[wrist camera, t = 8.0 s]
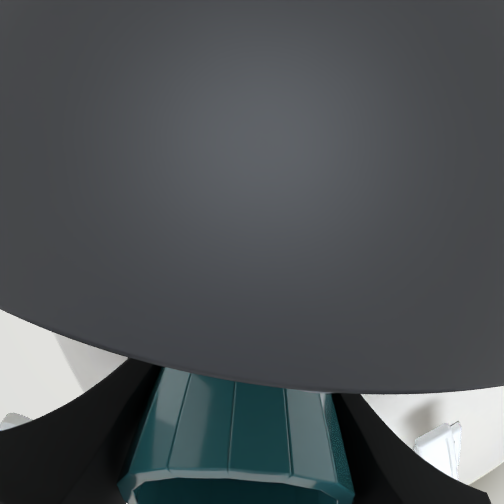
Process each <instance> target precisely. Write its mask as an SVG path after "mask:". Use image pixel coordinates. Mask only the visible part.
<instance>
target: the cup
mask: <svg viewBox="0 0 504 504" xmlns="http://www.w3.org/2000/svg"><path fill="white" fill-rule="evenodd" d="M117 487H118V490H119V492H120V495H121V497H122V499H123V500H124V501H125V502H126V503H128V504H353V500H354V496H355V494H354V489H353V484H352V480H351V475H350V471H349V466H348V462H347V457H346V453H345V449H344V445H343V440H342V436H341V432H340V428H339V424H338V420H337V416H336V412H335V408H334V404H333V400H332V396H331V393H310V392H305V391H300V390H296V389H286V388H278V387H270V386H262V385H255V384H249V383H242V382H236V381H230V380H224V379H219V378H213V377H208V376H203V375H198V374H194V373H189V372H184V371H180V370H176V369H171V368H167V367H163V366H160V368H159V370H158V373H157V375H156V377H155V380H154V382H153V385H152V387H151V390H150V393H149V395H148V398H147V400H146V403H145V406H144V408H143V411H142V413H141V416H140V419H139V421H138V424H137V427H136V430H135V432H134V435H133V438H132V440H131V443H130V446H129V449H128V452H127V454H126V457H125V460H124V463H123V466H122V469H121V472H120V474H119V477H118V480H117Z"/></svg>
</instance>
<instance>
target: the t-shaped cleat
mask: <svg viewBox="0 0 504 504" xmlns="http://www.w3.org/2000/svg"><path fill="white" fill-rule="evenodd" d="M461 432H462V427H461V424H460V423H459V422H457V423H455V424H454V425H452V426H450V425H449V424H448V423H444V424H442V425H440V426H439V427H437V428H435V429H433V430H432V431H430V432H428V433H426V434H424V435H422V436H420V437H419V438H417V439H416V440H415V443H416V446H414V447H413V449H414V452H415V453H416V454H418V455H419V456H420V457H422V458H423V459H424V460H425V461H427V462H428V463H430V464H431V465H433V466H434V467H435V468H437V469H438V470H440V471H442V472H443V473H445V474H447V475H448V476H450V477H452V478H454V479H456V480H458V470H457V466H459V459H460V448H461ZM458 481H459V480H458Z"/></svg>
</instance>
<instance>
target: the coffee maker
mask: <svg viewBox="0 0 504 504" xmlns="http://www.w3.org/2000/svg"><path fill="white" fill-rule="evenodd" d="M0 309H1V310H3V311H5V312H7V313H10V314H12V315H14V316H16V317H19V318H21V319H23V320H25V321H28V322H30V323H32V324H35V325H37V326H39V327H42V328H44V329H47V330H49V331H52V332H54V333H57V334H60V335H62V336H65V337H68V338H70V339H73V340H76V341H79V342H82V343H85V344H88V345H90V346H93V347H97V348H100V349H103V350H106V351H109V352H112V353H116V354H119V355H122V356H126V357H128V358H133V359H136V360H140V361H144V362H147V363H151V364H155V365H159V366H163V367H167V368H171V369H176V370H180V371H184V372H189V373H194V374H198V375H203V376H208V377H213V378H219V379H224V380H230V381H236V382H242V383H249V384H255V385H262V386H270V387H278V388H286V389H296V390H300V391H305V392H310V393H351V394H424V393H442V392H455V391H466V390H475V389H484V388H491V387H498V386H504V0H0Z"/></svg>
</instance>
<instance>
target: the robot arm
mask: <svg viewBox="0 0 504 504" xmlns="http://www.w3.org/2000/svg"><path fill="white" fill-rule="evenodd" d="M159 368H160V366H159V365H155V364H151V363H147V362H144V361H140V360H136V359H133V358H128V359H127V360H126V361H125V362H124V363H123V364H122V365H120V366H119V367H118V368H117V369H116V370H114V371H113V372H112V373H111V374H109V375H108V376H107V377H106V378H104V379H103V380H102V381H100V382H99V383H98V384H96V385H95V386H94V387H92V388H91V389H89V390H88V391H87V392H85V393H84V394H82V395H81V396H79V397H77V398H76V399H74V400H73V401H71V402H69V403H67V404H66V405H64V406H62V407H60V408H58V409H56V410H54V411H52V412H50V413H48V414H46V415H44V416H42V417H40V418H37V419H35V420H32V421H29V422H27V423H24V424H21V425H18V426H15V427H12V428H9V429H6V430H0V504H126V502H125V501H124V500H123V499H122V497H121V495H120V492H119V490H118V487H117V480H118V477H119V474H120V472H121V469H122V466H123V463H124V460H125V457H126V454H127V452H128V449H129V446H130V443H131V440H132V438H133V435H134V432H135V430H136V427H137V424H138V421H139V419H140V416H141V413H142V411H143V408H144V406H145V403H146V400H147V398H148V395H149V393H150V390H151V387H152V385H153V382H154V380H155V377H156V375H157V373H158V370H159ZM331 396H332V400H333V404H334V408H335V412H336V416H337V420H338V424H339V428H340V432H341V436H342V440H343V445H344V449H345V453H346V457H347V462H348V466H349V471H350V475H351V480H352V484H353V489H354V494H355V496H354V500H353V504H491V502H490V499H489V497H488V495H487V493H486V492H483V491H480V490H478V489H475V488H473V487H470V486H468V485H466V484H463V483H461V482H459V481H458V480H456V479H454V478H452V477H450V476H448V475H447V474H445V473H443V472H442V471H440V470H438V469H437V468H435V467H434V466H433V465H431V464H430V463H428V462H427V461H425V460H424V459H423V458H422V457H420V456H419V455H418V454H416V453H415V452H414V451H413V450H412V449H411V448H409V447H408V446H407V445H406V444H405V443H404V442H403V441H402V440H401V439H400V438H398V437H397V436H396V434H395V433H394V432H393V431H392V430H391V429H390V428H389V427H388V426H387V425H386V424H385V423H384V422H383V421H382V420H381V418H380V417H379V416H378V415H377V414H376V413H375V412H374V410H373V409H372V408H371V407H370V406H369V404H368V403H367V402H366V401H365V399H364V398H363V397H362V396H361V394H351V393H331Z"/></svg>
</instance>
